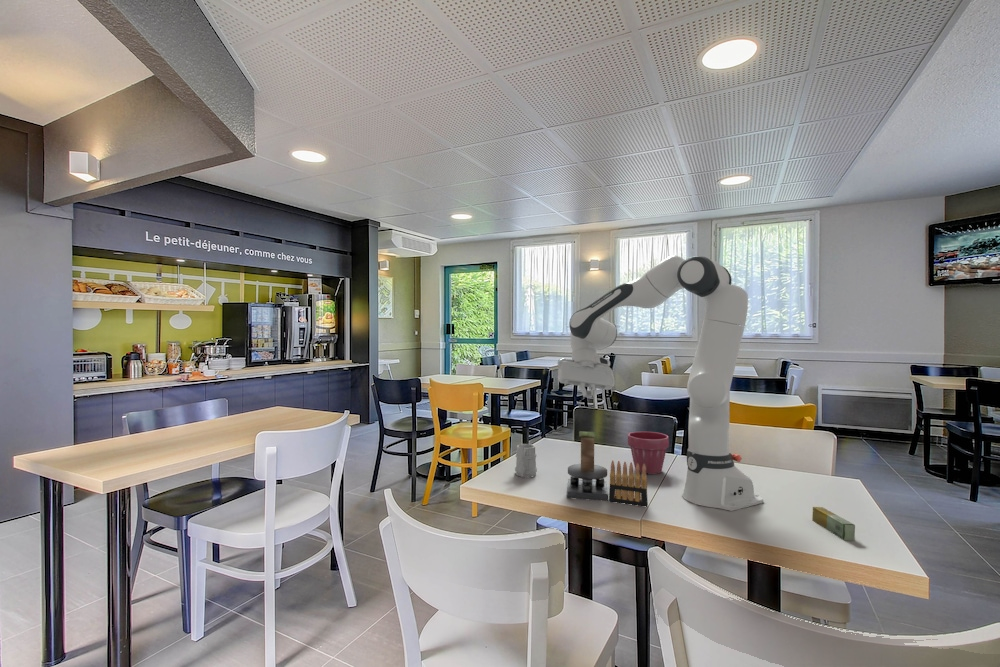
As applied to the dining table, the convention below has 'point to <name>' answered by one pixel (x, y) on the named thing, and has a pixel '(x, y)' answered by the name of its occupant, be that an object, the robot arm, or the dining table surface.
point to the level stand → (587, 489)
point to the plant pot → (648, 450)
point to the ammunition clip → (628, 485)
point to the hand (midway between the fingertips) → (587, 396)
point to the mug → (526, 460)
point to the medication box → (834, 523)
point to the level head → (587, 460)
